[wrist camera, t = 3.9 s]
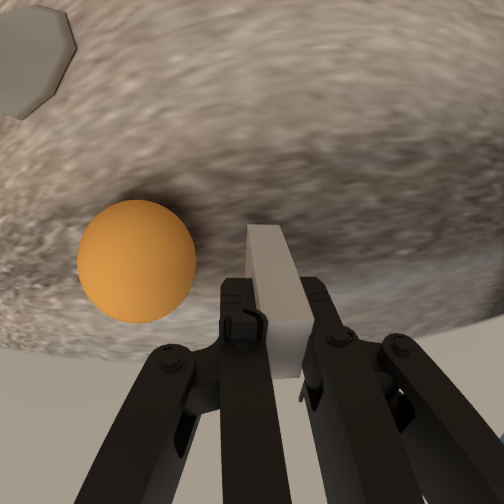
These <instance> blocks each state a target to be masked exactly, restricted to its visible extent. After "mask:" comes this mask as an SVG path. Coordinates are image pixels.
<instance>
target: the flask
mask: <svg viewBox="0 0 504 504" xmlns="http://www.w3.org/2000/svg"><path fill="white" fill-rule="evenodd" d="M75 49H76V47H75V44H74V41H73V38H72V35H71V32H70V29H69V26H68V22H67V19H66V16H65V13H64V12H61V11H57V10H54V9H50V8H46V7H42V6H38V5H32V6H28V7H24V8H20V9H17V10H13V11H10V12H7V13H4V14H1V15H0V112H1V113H3V114H6V115H8V116H10V117H13V118H16V119H18V120H21V121H22V120H23V119H24V118H25V117H26V116H27V115H29V114H30V113H31V112H32V111H33V110H35V109H36V108H37V107H38V106H39V105H41V104H42V103H43V102H44V101H46V100H47V99H48V98H50V97H51V96H52V95H54V92H55V90H56V88H57V86H58V83H59V81H60V79H61V77H62V75H63V73H64V71H65V69H66V67H67V65H68V63H69V61H70V59H71V57H72V55H73V53H74V51H75Z"/></svg>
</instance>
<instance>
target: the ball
mask: <svg viewBox="0 0 504 504" xmlns="http://www.w3.org/2000/svg"><path fill="white" fill-rule="evenodd" d="M77 267H78V274H79V278H80V282H81V284H82V287H83V289H84V291H85V293H86V294H87V296H88V297H89V299H90V300H91V301H92V303H93V304H94V305H95V306H96V307H97V308H98V309H99V310H101V311H102V312H103V313H105V314H106V315H108V316H110V317H112V318H114V319H116V320H119V321H122V322H127V323H147V322H152V321H155V320H158V319H160V318H162V317H164V316H166V315H168V314H169V313H171V312H172V311H173V310H175V309H176V308H177V307H178V306H179V305H180V304H181V303H182V301H183V300H184V299H185V297H186V296H187V294H188V292H189V290H190V288H191V286H192V283H193V280H194V277H195V271H196V253H195V247H194V244H193V240H192V238H191V236H190V234H189V232H188V230H187V228H186V227H185V225H184V224H183V223H182V221H181V220H180V219H179V218H178V217H177V216H176V215H175V214H174V213H172V212H171V211H170V210H168V209H167V208H165V207H163V206H161V205H159V204H157V203H154V202H150V201H145V200H128V201H123V202H119V203H116V204H114V205H112V206H109V207H108V208H106V209H104V210H103V211H102V212H100V213H99V214H98V215H97V216H96V217H95V218H94V219H93V220H92V221H91V223H90V224H89V225H88V226H87V228H86V230H85V232H84V234H83V236H82V238H81V241H80V244H79V249H78V255H77Z"/></svg>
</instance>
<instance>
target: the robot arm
mask: <svg viewBox="0 0 504 504" xmlns="http://www.w3.org/2000/svg"><path fill="white" fill-rule="evenodd" d="M302 369H303V373H304V377H305V379H304V383H303V386H302V389H301V392H300V396H299V402H302V401H303V398H305V402H306V407H307V411H308V415H309V420H310V424H311V429H312V433H313V438H314V442H315V447H316V451H317V456H318V461H319V465H320V469H321V474H322V479H323V484H324V488H325V493H326V497H327V503H328V504H425V503H424V500H423V496H424V498H425V499H426V501H427V502H428V504H504V434H503V435H502V436H501V437H500V439H499V438H498V437H497V435H496V434H495V433H494V432H493V430H492V429H491V428H490V427H489V425H488V424H487V423H486V422H485V420H484V419H483V418H482V417H481V416H480V414H479V413H478V412H477V411H476V410H475V408H474V407H473V406H472V405H471V404H470V403H469V401H468V400H467V399H466V398H465V397H464V395H463V394H462V393H461V392H460V391H459V390H458V388H456V386H455V385H454V384H453V383H452V381H451V380H450V379H449V378H448V377H447V376H446V375H445V374H444V373H443V371H442V370H441V369H440V368H439V367H438V366H437V365H436V363H435V362H434V361H433V360H432V359H431V358H430V357H429V356H428V355H427V354H426V352H425V351H423V349H422V348H421V347H420V346H419V345H418V344H417V343H416V342H415V341H414V340H413V339H412V338H410V337H408V336H406V335H404V334H398V333H394V334H389V335H388V336H386V337H385V339H384V340H383V342H382V343H375V342H368V341H364V340H360V339H359V338H358V336H357V335H356V333H355V332H354V331H353V330H351V329H350V328H348V327H346V326H343V324H342V322H341V319H340V317H339V315H338V313H337V310H336V308H335V306H334V304H333V302H332V301H331V297H330V295H329V294H328V291H327V289H326V287H325V284H324V283H322V282H321V281H320V280H319V279H318V278H317V277H299V275H298V273H297V270H296V267H295V265H294V262H293V259H292V257H291V254H290V251H289V249H288V246H287V243H286V241H285V238H284V236H283V233H282V230H281V228H280V225H251V224H247V242H246V263H245V278H226V279H225V280H224V282H223V283H222V285H221V293H220V320H219V337H218V339H217V340H216V341H215V342H214V343H213V344H212V345H210V346H209V347H207V348H204V349H201V350H197V351H193V352H191V351H190V350H189V349H188V348H187V347H184V346H182V345H179V344H167V345H162V346H160V347H158V348H156V349H154V350H153V352H152V353H151V354H150V355H149V357H148V358H147V360H146V362H145V364H144V366H143V368H142V369H141V371H140V373H139V375H138V377H137V379H136V380H135V382H134V384H133V386H132V388H131V390H130V392H129V394H128V395H127V397H126V399H125V401H124V403H123V405H122V407H121V409H120V411H119V413H118V414H117V416H116V418H115V420H114V422H113V424H112V426H111V428H110V430H109V432H108V434H107V436H106V438H105V440H104V442H103V444H102V446H101V448H100V450H99V452H98V454H97V456H96V458H95V460H94V462H93V464H92V466H91V468H90V470H89V472H88V474H87V477H86V479H85V481H84V483H83V485H82V487H81V489H80V491H79V493H78V496H77V498H76V500H75V502H74V504H172V501H173V498H174V495H175V492H176V489H177V487H178V484H179V480H180V477H181V474H182V472H183V469H184V466H185V462H186V459H187V456H188V453H189V450H190V447H191V444H192V441H193V438H194V435H195V432H196V429H197V426H198V423H199V420H200V417H201V414H204V413H208V412H211V411H215V410H218V409H220V428H221V462H222V463H221V464H222V489H223V504H292V501H291V495H290V489H289V483H288V477H287V471H286V465H285V458H284V452H283V445H282V439H281V433H280V426H279V420H278V415H277V408H276V402H275V396H274V389H273V383H272V379H282V378H283V379H284V378H299V377H300V374H301V370H302ZM399 389H401V390H402V391H403V393H404V394H402V393H401V392H399ZM422 495H423V496H422Z"/></svg>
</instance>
